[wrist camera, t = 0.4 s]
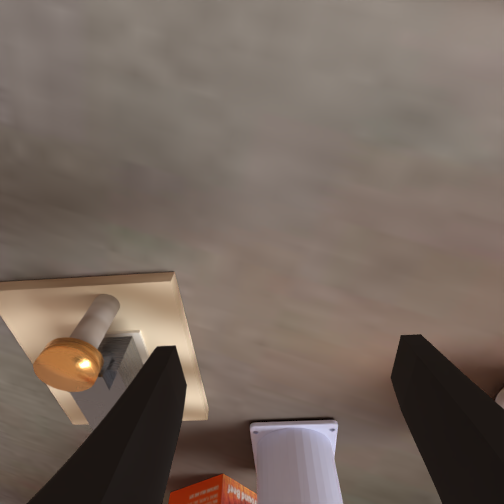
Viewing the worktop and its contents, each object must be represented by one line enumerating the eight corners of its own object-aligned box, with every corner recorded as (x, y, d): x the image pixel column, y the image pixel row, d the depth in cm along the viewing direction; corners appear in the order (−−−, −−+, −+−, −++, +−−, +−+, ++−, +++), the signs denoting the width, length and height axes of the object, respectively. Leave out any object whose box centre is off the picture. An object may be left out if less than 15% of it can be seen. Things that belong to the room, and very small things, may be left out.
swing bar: (59, 302, 18) (17, 354, 15) (118, 299, 18) (88, 351, 15) (129, 436, 26) (111, 490, 22) (170, 435, 26) (158, 489, 22)
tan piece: (208, 408, 28) (200, 471, 24) (78, 413, 28) (47, 475, 24) (174, 271, 20) (152, 328, 16) (-4, 282, 21) (-72, 339, 16)
